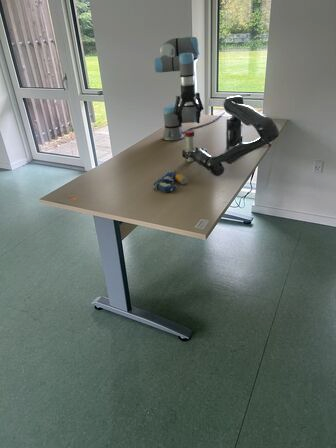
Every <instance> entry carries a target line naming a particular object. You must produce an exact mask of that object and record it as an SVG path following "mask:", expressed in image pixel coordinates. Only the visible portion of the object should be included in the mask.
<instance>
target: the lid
mask: <svg viewBox="0 0 336 448" xmlns="http://www.w3.org/2000/svg"><path fill="white" fill-rule="evenodd" d="M187 130H188V129H187ZM184 131H185V133H184V137H185V138H186V137H192V136H194V137H195V130H194V129H191V130H188V131H186V130H184Z"/></svg>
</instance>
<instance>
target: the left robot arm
mask: <svg viewBox="0 0 336 448" xmlns="http://www.w3.org/2000/svg"><path fill="white" fill-rule="evenodd" d="M200 56H201V55H200V49H199V41H198V38H197V36H185V37H175V38H170V39H168V40H166V41H165V42H164V43H163V44H162V45H161V47H160V49H159V57H156V58H154V60H153V67H154V72H155V73H160V74H162V73H171V72H179V79H180V80H179V82H180V95H175V103H173V104H169V105H166V106H165V107H164V108H163V121H164V130H163V135H162V139H163V140H164V141H167V142H176V141H180V140H182V139H184V137H185V131H188V130H194V129H198V128H201V127H204V126H207V125H209V124H212V123H213V122H215V121H217V120H218V119H219V118H220V117H221V116H223V115H225V113H226V111H225V112H222V113H221V114H220V115H218V116H217V117H216V118H215V119H213V120H211V121H209V122H206V123H203V124H201V123H200V122H201V114H202V113H201V112H202V111H203V110H204V105H203V103H202V100H201V95H200V94H201V93H200V92H197V69H196V63H197V61H198V58H199V57H200ZM191 123H192V124H193V123H196V124H201V125H198V126H194V127H191V128H188V129H186V130H184V131H183V129H182V127H183V124H191Z"/></svg>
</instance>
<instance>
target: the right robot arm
mask: <svg viewBox="0 0 336 448" xmlns="http://www.w3.org/2000/svg"><path fill="white" fill-rule="evenodd" d="M244 103H245V102H244V99H243V97H242V96H241V95H235V96H228V97H226V98H225V99H224V100H223V104H222V105H223V106H222V107H223V110H224V111H225V113H226V114H228V115H230V116H229V117H228V118H227V119H226V123H225V124H226V125H225V127H226V129H225V130H226V131H225V134H226V136H225V145H226V146H225V152H222V153H219V154H218V155H214V156H212V155H210V154H209V153H208V150H207V149H206V148H204V147H198V146H194V151H187V150H186V149H182V151H181V152H182V154H181V155H182V157H183V158H184V159H185V160H187V159H188V157H191V158H193V160H194V161H193V162H196V163H197V164H199V165H200V166H202V167H203V168H204V169H207V171H209V173H210V174H212V175H213V176H215V177H220V176H223V175H224V173H225V166H224V164H223V163H226V164H227V165H232V164H234V163H235V162H237V161H238V160H240V159H241V158H243V157H245V156H246V155H248V154H249V153H253V152H254V151H256V150H258V149H260V148H262V147H264V146H267V145H269V146H271V145H272V144H271V143H272V142H274V141H275V140H277V138H278V137H279V136H280V130H279V128H278V126H277V124H276V122H275V120H274V119H272V117H270V116H267V115H265V114H262V113H260V112H259V111H258V110H257V109H255V108H254V107H252V106H250V105H246V104H244ZM242 125H244V126H247V127H253V128H254V129H255V131H256V132H257V134H258V135H259V137H258V138H257V139H255V140H254V141H250V142H244V141H243V135H242ZM187 153H188V154H187Z"/></svg>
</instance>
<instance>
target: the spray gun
mask: <svg viewBox="0 0 336 448" xmlns="http://www.w3.org/2000/svg"><path fill="white" fill-rule="evenodd" d="M175 181H176V182H177V183H179V184H180V185H185V184H186V183H187V182H188V178H187V177H186V176H185V175H183V174H181V173H177V171H176V170H173V171H169V170H166V171H165V173H164V174H162V175H161V177H159V178H158V179H157V180H156V181H154V183H153V186H152V188H153V189H155V190H157V191H158V190H160V191H162V192H164V193H170V192H174V191H175V190H176V189H177V184H175V183H174V182H175Z"/></svg>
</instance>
